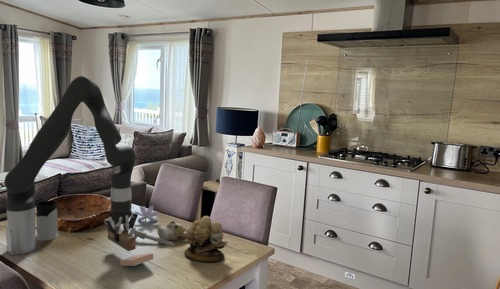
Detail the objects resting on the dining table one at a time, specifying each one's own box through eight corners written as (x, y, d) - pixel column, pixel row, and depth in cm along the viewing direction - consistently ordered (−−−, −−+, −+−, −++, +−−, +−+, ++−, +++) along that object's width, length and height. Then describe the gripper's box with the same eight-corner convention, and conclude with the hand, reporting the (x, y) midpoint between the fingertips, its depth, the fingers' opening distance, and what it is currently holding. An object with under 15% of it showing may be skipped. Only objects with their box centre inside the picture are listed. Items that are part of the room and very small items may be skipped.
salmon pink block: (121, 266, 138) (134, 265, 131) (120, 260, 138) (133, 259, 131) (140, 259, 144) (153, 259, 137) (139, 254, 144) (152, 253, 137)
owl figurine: (231, 254, 153) (233, 214, 150) (220, 266, 141) (222, 223, 139) (191, 246, 158) (193, 208, 156) (178, 258, 147) (179, 216, 145)
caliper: (129, 241, 161) (129, 226, 160) (130, 240, 162) (130, 226, 161) (174, 246, 158) (174, 232, 157) (175, 245, 159) (175, 231, 158)
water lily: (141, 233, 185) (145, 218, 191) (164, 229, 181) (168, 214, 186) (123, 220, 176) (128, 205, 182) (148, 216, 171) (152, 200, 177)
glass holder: (51, 241, 156) (50, 206, 154) (18, 239, 156) (17, 204, 154) (62, 233, 165) (61, 200, 163) (31, 231, 165) (29, 198, 163)
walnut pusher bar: (128, 251, 139) (128, 238, 138) (107, 238, 150) (107, 226, 149) (135, 249, 141) (135, 236, 141) (114, 236, 152) (114, 225, 151)
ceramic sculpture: (154, 218, 165) (186, 216, 172) (153, 237, 166) (185, 234, 173) (160, 226, 156) (194, 224, 163) (159, 246, 157) (192, 243, 164)
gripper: (108, 203, 135) (108, 248, 138) (142, 197, 146) (142, 239, 148) (98, 199, 140) (99, 242, 143) (132, 192, 151) (132, 233, 153)
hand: (121, 240), depth 145 cm, fingers closed on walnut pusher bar, 3 cm apart
